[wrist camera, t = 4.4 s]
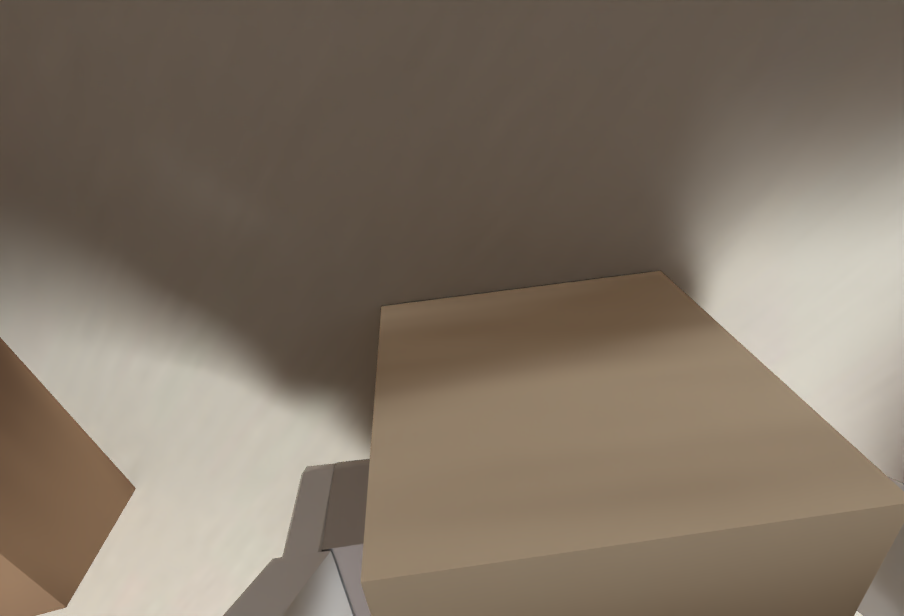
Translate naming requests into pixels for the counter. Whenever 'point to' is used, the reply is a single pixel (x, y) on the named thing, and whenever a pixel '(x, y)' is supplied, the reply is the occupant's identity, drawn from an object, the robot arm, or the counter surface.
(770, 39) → the counter surface
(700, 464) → the maple cube
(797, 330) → the counter surface
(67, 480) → the walnut block
